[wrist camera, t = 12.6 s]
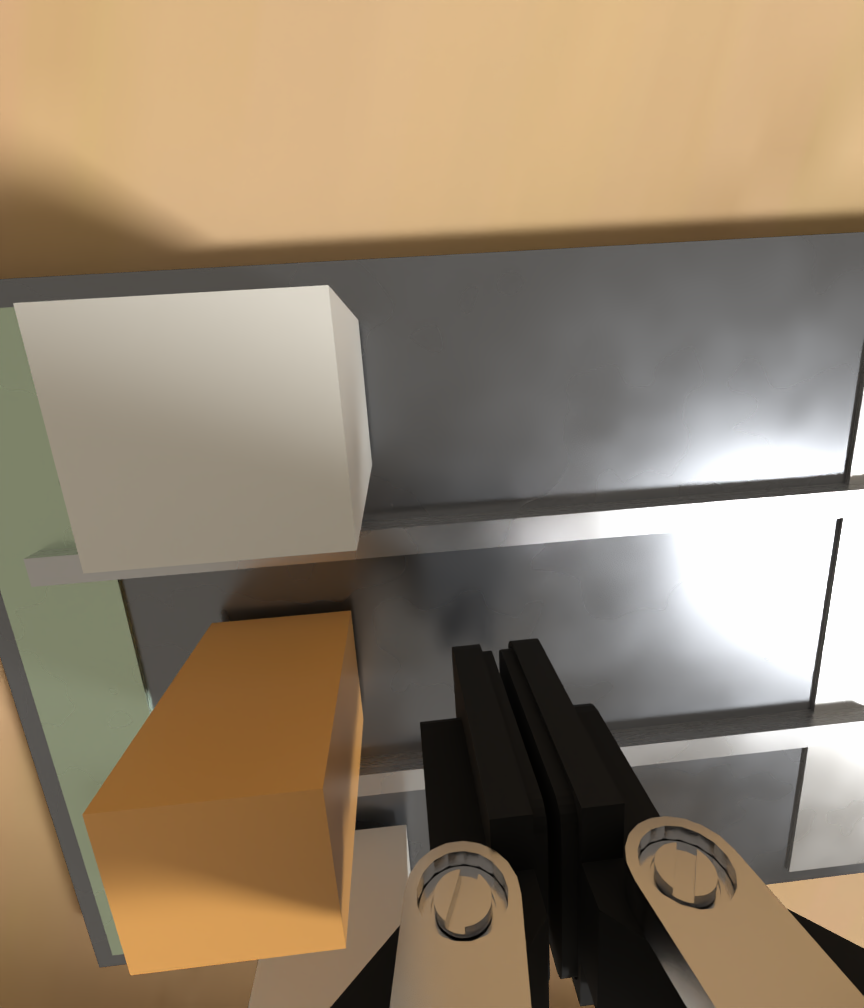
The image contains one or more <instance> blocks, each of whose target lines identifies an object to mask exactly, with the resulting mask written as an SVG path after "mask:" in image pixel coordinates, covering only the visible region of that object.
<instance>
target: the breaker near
mask: <svg viewBox="0 0 864 1008" xmlns="http://www.w3.org/2000/svg"><path fill="white" fill-rule="evenodd" d="M13 305H14V308H15V312H16V316H17V320H18V324H19V328H20V331H21V335H22V339H23V343H24V347H25V351H26V355H27V358H28V362H29V366H30V370H31V374H32V378H33V382H34V385H35V389H36V393H37V397H38V401H39V405H40V409H41V412H42V416H43V420H44V424H45V428H46V432H47V436H48V439H49V443H50V447H51V451H52V455H53V459H54V463H55V466H56V470H57V474H58V478H59V482H60V486H61V490H62V493H63V497H64V501H65V505H66V509H67V513H68V517H69V520H70V524H71V528H72V532H73V536H74V540H75V544H76V547H77V551H78V555H79V559H80V563H81V567H82V571H83V574H84V573H96V572H108V571H120V570H132V569H144V568H155V567H167V566H179V565H191V564H203V563H215V562H226V561H238V560H250V559H262V558H274V557H286V556H297V555H309V554H321V553H333V552H345V551H356V550H357V546H358V541H359V535H360V530H361V524H362V518H363V513H364V507H365V502H366V496H367V490H368V485H369V479H370V474H371V468H372V459H371V448H370V438H369V427H368V417H367V406H366V396H365V385H364V375H363V364H362V353H361V343H360V332H359V322H358V319H357V318H356V317H355V316H354V314H353V313H352V312H351V311H350V310H349V309H348V307H347V306H346V305H345V304H344V303H343V302H342V300H341V299H340V298H339V297H338V296H337V295H336V294H335V292H334V291H333V290H332V289H331V288H330V287H329V285H321V286H303V287H286V288H268V289H251V290H233V291H216V292H198V293H180V294H163V295H145V296H128V297H110V298H93V299H75V300H58V301H40V302H22V303H13Z"/></svg>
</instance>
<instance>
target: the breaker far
mask: <svg viewBox="0 0 864 1008" xmlns="http://www.w3.org/2000/svg"><path fill="white" fill-rule="evenodd" d="M410 873H411V871H410V860H409V850H408V839H407V829H406V825H398V826H389V827H381V828H372V829H363V830H355V835H354V848H353V861H352V874H351V888H350V901H349V914H348V927H347V940H346V948H345V949H337V950H329V951H321V952H313V953H305V954H297V955H290V956H282V957H274V958H266V959H259V960H258V964H257V969H256V973H255V978H254V982H253V987H252V992H251V996H250V1001H249V1005H248V1008H330V1007H331V1006H332V1005H333V1003H334V1002H335V1001H336V1000H337V999H338V998H339V996H340V995H341V994H342V993H343V992H344V990H345V989H346V988H347V987H348V986H349V985H350V983H351V982H352V981H353V980H354V979H355V977H356V976H357V975H358V974H359V973H360V972H361V970H362V969H363V968H364V967H365V966H366V964H367V963H368V962H369V961H370V960H371V959H372V957H373V956H374V955H375V954H376V953H377V951H378V950H379V949H380V948H381V947H382V946H383V944H384V943H385V942H386V941H387V940H388V938H389V937H390V936H391V935H392V934H393V933H394V931H395V930H396V929H397V928H398V927H399V925H400V922H401V914H402V906H403V898H404V891H405V888H406V884H407V881H408V877H409V874H410Z"/></svg>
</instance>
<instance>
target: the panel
mask: <svg viewBox="0 0 864 1008" xmlns="http://www.w3.org/2000/svg"><path fill="white" fill-rule="evenodd" d="M321 285H329V287H330V288H331V289H332V290H333V291H334V292H335V294H336V295H337V296H338V297H339V298H340V299H341V300H342V302H343V303H344V304H345V305H346V306H347V307H348V309H349V310H350V311H351V312H352V313H353V314H354V316H355V317H356V318H357V319H358V322H359V332H360V343H361V353H362V364H363V375H364V385H365V396H366V406H367V417H368V427H369V438H370V448H371V459H372V468H371V474H370V479H369V485H368V490H367V496H366V502H365V507H364V513H363V518H362V524H361V530H360V535H359V541H358V546H357V550H356V551H345V552H333V553H321V554H309V555H297V556H286V557H274V558H262V559H250V560H238V561H226V562H215V563H203V564H191V565H179V566H167V567H155V568H144V569H132V570H120V571H108V572H96V573H84V574H83V571H82V567H81V563H80V559H79V555H78V551H77V547H76V544H75V540H74V536H73V532H72V528H71V524H70V520H69V517H68V513H67V509H66V505H65V501H64V497H63V493H62V490H61V486H60V482H59V478H58V474H57V470H56V466H55V463H54V459H53V455H52V451H51V447H50V443H49V439H48V436H47V432H46V428H45V424H44V420H43V416H42V412H41V409H40V405H39V401H38V397H37V393H36V389H35V385H34V382H33V378H32V374H31V370H30V366H29V362H28V358H27V355H26V351H25V347H24V343H23V339H22V335H21V331H20V328H19V324H18V320H17V316H16V312H15V308H14V305H13V303H22V302H40V301H58V300H75V299H93V298H110V297H128V296H145V295H163V294H180V293H198V292H216V291H233V290H251V289H268V288H286V287H303V286H321ZM340 611H351V615H352V624H353V632H354V641H355V650H356V659H357V667H358V676H359V685H360V694H361V702H362V711H363V731H362V744H361V757H360V770H359V783H358V796H357V809H356V822H355V830H363V829H372V828H381V827H389V826H398V825H406V829H407V839H408V850H409V860H410V871H412V870H413V868H414V867H415V865H416V864H417V862H418V861H419V860H420V859H421V858H422V857H423V856H425V855H426V854H427V853H428V852H429V851H430V844H429V831H428V819H427V806H426V794H425V781H424V768H423V756H422V743H421V731H420V722H424V721H433V720H442V719H451V718H456V709H455V694H454V679H453V664H452V647H455V646H465V645H475V644H480V646H481V649H482V651H492V653H493V655H494V658H495V661H496V664H497V667H498V670H499V650H500V649H508V643H509V641H514V640H523V639H533V638H538V639H539V641H540V643H541V645H542V646H543V648H544V650H545V652H546V654H547V656H548V658H549V660H550V662H551V664H552V666H553V667H554V669H555V671H556V673H557V675H558V677H559V679H560V681H561V683H562V685H563V686H564V688H565V690H566V692H567V694H568V696H569V698H570V700H571V702H572V704H573V705H578V704H587V703H591V704H593V705H594V706H595V707H596V708H597V710H598V711H599V713H600V715H601V716H602V718H603V720H604V722H605V723H606V725H607V727H608V728H609V730H610V732H611V733H612V735H613V737H614V739H615V740H616V742H617V744H618V745H619V747H620V749H621V750H622V752H623V754H624V756H625V757H626V759H627V761H628V762H629V764H630V766H631V767H632V769H633V771H634V773H635V774H636V776H637V778H638V779H639V781H640V783H641V784H642V786H643V788H644V790H645V791H646V793H647V795H648V796H649V798H650V800H651V802H652V803H653V805H654V807H655V808H656V810H657V812H658V813H659V815H660V817H663V816H669V817H676V818H684V819H687V820H689V821H692V822H695V823H698V824H700V825H703V826H704V827H706V828H708V829H709V830H711V831H713V832H714V833H716V834H718V835H719V836H721V837H722V838H723V839H724V840H725V841H726V842H727V843H728V844H729V845H730V846H731V847H733V848H734V849H735V850H736V852H737V853H738V854H739V855H740V856H741V857H742V858H743V859H744V861H745V862H746V863H747V864H748V865H749V866H750V867H751V869H752V870H753V871H754V872H755V873H756V874H757V875H758V877H759V878H760V879H761V880H762V881H763V882H764V883H765V884H766V885H767V884H775V883H783V882H791V881H799V880H807V879H815V878H823V877H831V876H839V875H847V874H855V873H863V872H864V232H857V233H838V234H820V235H802V236H783V237H765V238H747V239H728V240H710V241H692V242H673V243H655V244H637V245H618V246H600V247H582V248H563V249H545V250H527V251H508V252H490V253H472V254H453V255H435V256H417V257H398V258H380V259H362V260H343V261H325V262H306V263H288V264H270V265H251V266H233V267H215V268H196V269H178V270H160V271H141V272H123V273H105V274H86V275H68V276H50V277H31V278H13V279H0V658H1V661H2V664H3V667H4V670H5V673H6V676H7V680H8V683H9V686H10V689H11V692H12V695H13V698H14V701H15V705H16V708H17V711H18V714H19V717H20V720H21V723H22V726H23V730H24V733H25V736H26V739H27V742H28V745H29V748H30V752H31V755H32V758H33V761H34V764H35V767H36V770H37V773H38V777H39V780H40V783H41V786H42V789H43V792H44V795H45V798H46V802H47V805H48V808H49V811H50V814H51V817H52V820H53V823H54V827H55V830H56V833H57V836H58V839H59V842H60V845H61V848H62V852H63V855H64V858H65V861H66V864H67V867H68V870H69V874H70V877H71V880H72V883H73V886H74V889H75V892H76V895H77V899H78V902H79V905H80V908H81V911H82V914H83V917H84V920H85V924H86V927H87V930H88V933H89V936H90V939H91V942H92V945H93V949H94V952H95V955H96V958H97V961H98V964H99V967H107V966H115V965H123V964H127V963H126V959H125V956H124V953H123V949H122V946H121V943H120V939H119V936H118V933H117V929H116V926H115V923H114V919H113V916H112V913H111V909H110V906H109V903H108V899H107V896H106V893H105V889H104V886H103V883H102V879H101V876H100V873H99V869H98V866H97V863H96V859H95V856H94V853H93V849H92V846H91V842H90V839H89V836H88V832H87V829H86V826H85V822H84V819H83V816H82V814H83V813H84V811H85V810H86V808H87V807H88V805H89V804H90V802H91V801H92V799H93V798H94V797H95V795H96V794H97V792H98V791H99V789H100V788H101V786H102V785H103V783H104V782H105V780H106V779H107V777H108V776H109V774H110V773H111V771H112V770H113V768H114V767H115V765H116V764H117V763H118V761H119V760H120V758H121V757H122V755H123V754H124V752H125V751H126V749H127V748H128V746H129V745H130V743H131V742H132V740H133V739H134V737H135V736H136V734H137V733H138V731H139V730H140V729H141V727H142V726H143V724H144V723H145V721H146V720H147V718H148V717H149V715H150V714H151V712H152V711H153V709H154V708H155V706H156V705H157V703H158V702H159V700H160V699H161V697H162V696H163V695H164V693H165V692H166V690H167V689H168V687H169V686H170V684H171V683H172V681H173V680H174V678H175V677H176V675H177V674H178V672H179V671H180V669H181V668H182V666H183V665H184V664H185V662H186V661H187V659H188V658H189V656H190V655H191V653H192V652H193V650H194V649H195V647H196V646H197V644H198V643H199V641H200V640H201V638H202V637H203V635H204V634H205V632H206V631H207V630H208V628H209V627H210V625H211V624H212V623H218V622H229V621H240V620H251V619H262V618H273V617H284V616H296V615H307V614H318V613H329V612H340ZM499 673H500V671H499Z"/></svg>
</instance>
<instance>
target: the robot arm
mask: <svg viewBox="0 0 864 1008" xmlns="http://www.w3.org/2000/svg"><path fill="white" fill-rule="evenodd" d="M452 664H453V679H454V694H455V709H456V718H451V719H442V720H433V721H424V722H420V731H421V743H422V756H423V768H424V781H425V794H426V806H427V819H428V831H429V844H430V851H429V852H428V853H427V854H426V855H425V856H423V857H422V858H421V859H420V860H419V861H418V862H417V864H416V865H415V867H414V868H413V870H412V871H411V873H410V874H409V877H408V881H407V884H406V888H405V891H404V898H403V906H402V914H401V922H400V925H399V927H398V928H397V929H396V930H395V931H394V933H393V934H392V935H391V936H390V937H389V938H388V940H387V941H386V942H385V943H384V944H383V946H382V947H381V948H380V949H379V950H378V951H377V953H376V954H375V955H374V956H373V957H372V959H371V960H370V961H369V962H368V963H367V964H366V966H365V967H364V968H363V969H362V970H361V972H360V973H359V974H358V975H357V976H356V977H355V979H354V980H353V981H352V982H351V983H350V985H349V986H348V987H347V988H346V989H345V990H344V992H343V993H342V994H341V995H340V996H339V998H338V999H337V1000H336V1001H335V1002H334V1003H333V1005H332V1006H331V1007H330V1008H549V979H550V960H549V944H550V947H551V951H552V955H553V958H554V962H555V966H556V969H557V972H558V975H559V977H560V978H561V979H564V978H571V977H572V979H573V983H574V986H575V990H576V993H577V997H578V1000H579V1003H580V1006H586V1005H593V1004H594V1006H595V1008H864V948H862V947H860V946H858V945H856V944H854V943H852V942H850V941H848V940H846V939H844V938H843V937H841V936H839V935H837V934H835V933H833V932H831V931H829V930H827V929H825V928H823V927H821V926H819V925H817V924H816V923H814V922H812V921H810V920H808V919H806V918H804V917H802V916H800V915H798V914H796V913H794V912H792V911H791V910H789V909H787V908H786V907H785V906H784V905H783V904H782V903H781V902H780V900H779V899H778V898H777V897H776V896H775V895H774V894H773V892H772V891H771V890H770V889H769V888H768V887H767V886H766V884H765V883H764V882H763V881H762V880H761V879H760V878H759V877H758V875H757V874H756V873H755V872H754V871H753V870H752V869H751V867H750V866H749V865H748V864H747V863H746V862H745V861H744V859H743V858H742V857H741V856H740V855H739V854H738V853H737V852H736V850H735V849H734V848H733V847H731V846H730V845H729V844H728V843H727V842H726V841H725V840H724V839H723V838H722V837H721V836H719V835H718V834H716V833H714V832H713V831H711V830H709V829H708V828H706V827H704V826H703V825H700V824H698V823H695V822H692V821H689V820H687V819H684V818H676V817H669V816H663V817H660V815H659V813H658V812H657V810H656V808H655V807H654V805H653V803H652V802H651V800H650V798H649V796H648V795H647V793H646V791H645V790H644V788H643V786H642V784H641V783H640V781H639V779H638V778H637V776H636V774H635V773H634V771H633V769H632V767H631V766H630V764H629V762H628V761H627V759H626V757H625V756H624V754H623V752H622V750H621V749H620V747H619V745H618V744H617V742H616V740H615V739H614V737H613V735H612V733H611V732H610V730H609V728H608V727H607V725H606V723H605V722H604V720H603V718H602V716H601V715H600V713H599V711H598V710H597V708H596V707H595V706H594V705H593V704H591V703H587V704H578V705H573V704H572V702H571V700H570V698H569V696H568V694H567V692H566V690H565V688H564V686H563V685H562V683H561V681H560V679H559V677H558V675H557V673H556V671H555V669H554V667H553V666H552V664H551V662H550V660H549V658H548V656H547V654H546V652H545V650H544V648H543V646H542V645H541V643H540V641H539V639H538V638H533V639H523V640H514V641H509V643H508V649H500V650H499V670H498V667H497V664H496V661H495V658H494V655H493V653H492V651H482V649H481V646H480V644H475V645H465V646H455V647H452ZM499 671H500V673H499Z"/></svg>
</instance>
